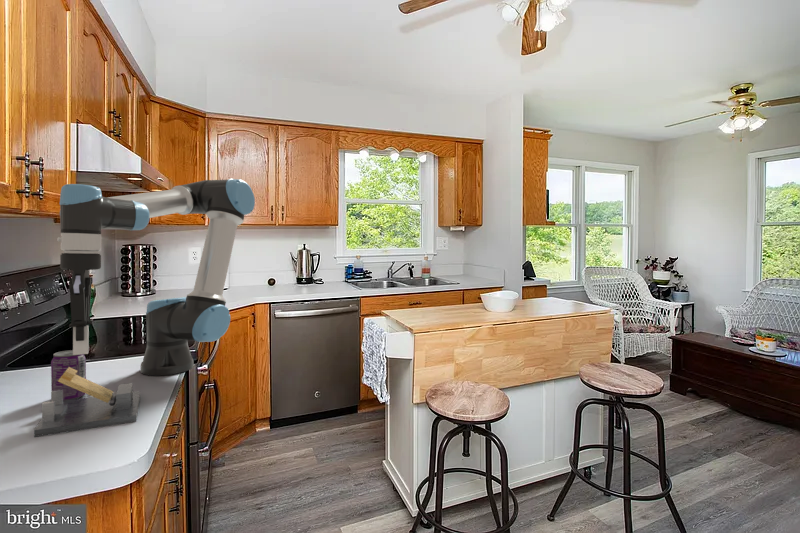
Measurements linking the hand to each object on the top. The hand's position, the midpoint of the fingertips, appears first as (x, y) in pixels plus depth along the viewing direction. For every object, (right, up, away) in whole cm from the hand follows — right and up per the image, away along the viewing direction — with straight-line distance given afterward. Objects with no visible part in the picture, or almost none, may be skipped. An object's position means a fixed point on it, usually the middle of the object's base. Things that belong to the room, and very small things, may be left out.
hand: (80, 353), depth 98 cm
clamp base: (+2, -15, +2) cm, 15 cm away
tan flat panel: (+1, -9, +1) cm, 9 cm away
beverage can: (-12, -14, +12) cm, 22 cm away
